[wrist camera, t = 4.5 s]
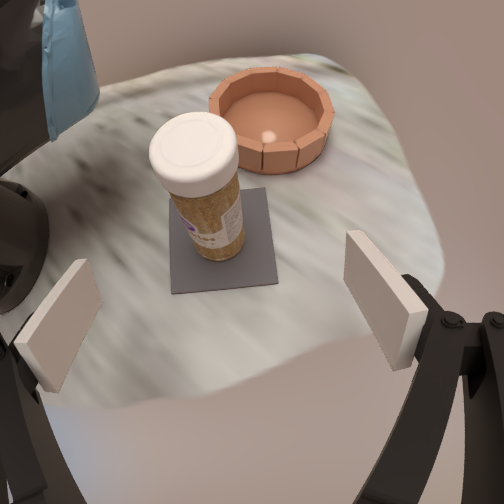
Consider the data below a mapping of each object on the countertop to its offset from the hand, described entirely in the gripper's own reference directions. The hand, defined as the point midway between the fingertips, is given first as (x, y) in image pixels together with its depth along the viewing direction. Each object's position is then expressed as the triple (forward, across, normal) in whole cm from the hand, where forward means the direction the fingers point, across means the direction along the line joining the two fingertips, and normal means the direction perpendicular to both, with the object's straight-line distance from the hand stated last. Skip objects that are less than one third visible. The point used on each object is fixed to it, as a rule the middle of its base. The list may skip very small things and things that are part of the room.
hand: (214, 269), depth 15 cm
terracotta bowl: (+21, +5, +5) cm, 22 cm away
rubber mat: (+12, -1, -4) cm, 13 cm away
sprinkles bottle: (+12, -1, -4) cm, 13 cm away
